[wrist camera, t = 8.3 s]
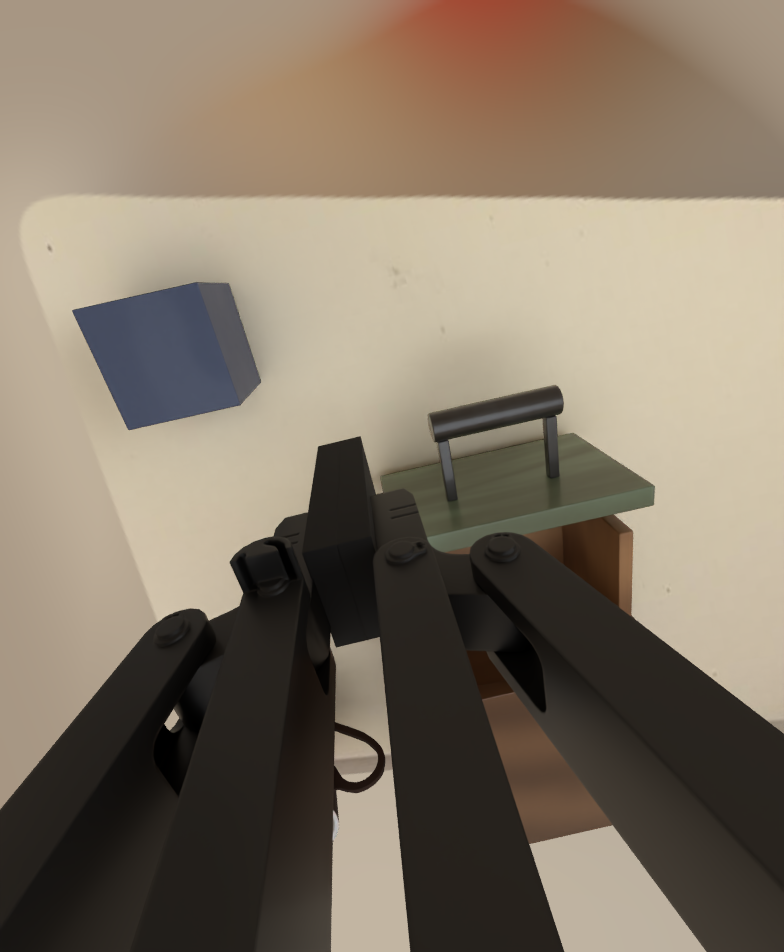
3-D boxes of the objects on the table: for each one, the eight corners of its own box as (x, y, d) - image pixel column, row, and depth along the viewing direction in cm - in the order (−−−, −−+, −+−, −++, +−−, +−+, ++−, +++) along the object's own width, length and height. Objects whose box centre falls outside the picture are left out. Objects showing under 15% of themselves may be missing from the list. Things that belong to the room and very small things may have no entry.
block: (129, 305, 26) (71, 310, 21) (228, 282, 26) (196, 282, 21) (170, 402, 28) (128, 430, 23) (261, 382, 28) (240, 405, 23)
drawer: (362, 402, 29) (368, 449, 20) (570, 355, 29) (660, 383, 20) (417, 633, 37) (437, 734, 28) (579, 597, 37) (646, 687, 28)
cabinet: (401, 594, 36) (421, 713, 26) (579, 554, 36) (668, 657, 26) (433, 724, 43) (459, 860, 33) (584, 690, 43) (657, 815, 33)
